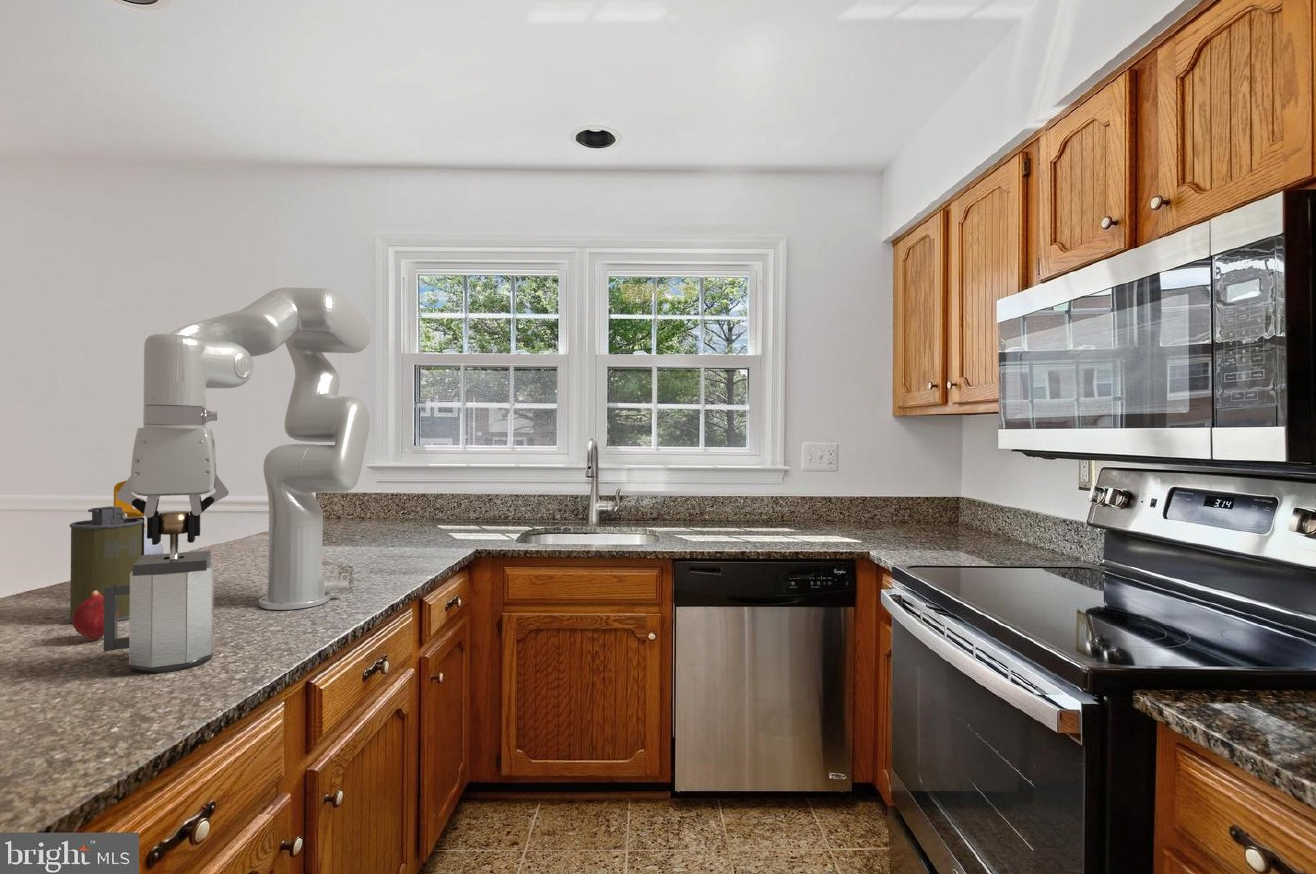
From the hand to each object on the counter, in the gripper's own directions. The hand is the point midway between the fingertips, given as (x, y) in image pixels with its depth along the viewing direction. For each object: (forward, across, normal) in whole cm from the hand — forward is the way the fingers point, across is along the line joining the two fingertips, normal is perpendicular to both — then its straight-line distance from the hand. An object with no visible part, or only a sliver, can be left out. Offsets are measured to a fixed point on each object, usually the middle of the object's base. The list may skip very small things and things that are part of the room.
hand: (174, 541), depth 100 cm
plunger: (+15, 0, 0) cm, 15 cm away
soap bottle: (+18, +11, -48) cm, 52 cm away
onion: (+18, +12, -18) cm, 28 cm away
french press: (+18, +1, 0) cm, 18 cm away
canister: (+18, +13, -34) cm, 41 cm away
